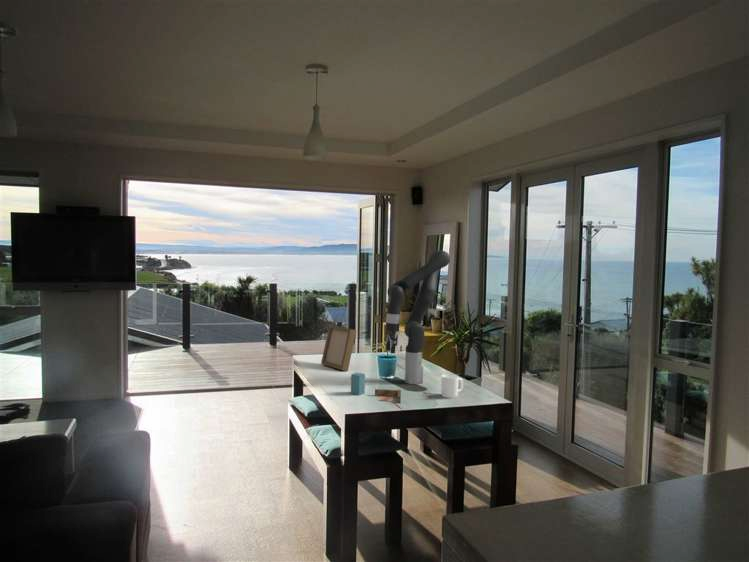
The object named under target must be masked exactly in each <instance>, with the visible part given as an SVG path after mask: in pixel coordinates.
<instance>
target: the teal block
mask: <svg viewBox="0 0 749 562" xmlns="http://www.w3.org/2000/svg"><path fill="white" fill-rule="evenodd" d="M365 384H366V374H365V373H361V372H354V373H351V375H350V394H351V395H355V396H361V395H364V394H365V392H366V391H365V390H366V389H365V388H366V385H365Z"/></svg>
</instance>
